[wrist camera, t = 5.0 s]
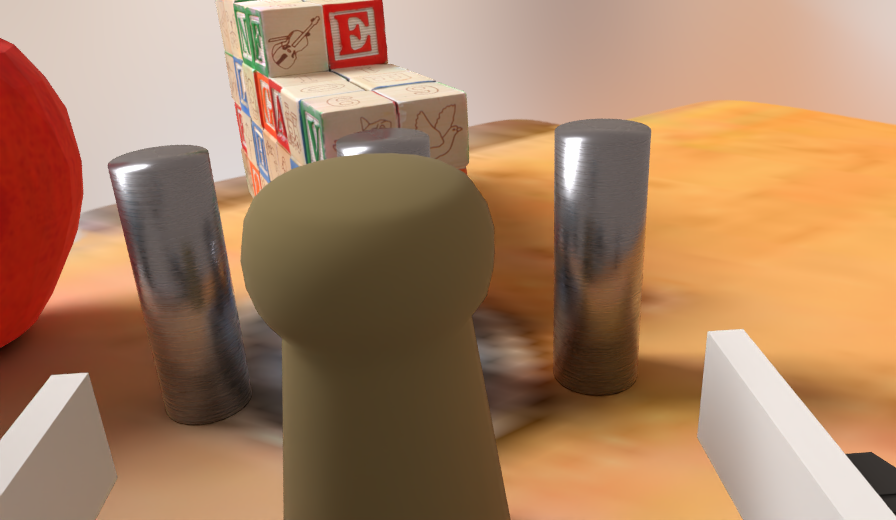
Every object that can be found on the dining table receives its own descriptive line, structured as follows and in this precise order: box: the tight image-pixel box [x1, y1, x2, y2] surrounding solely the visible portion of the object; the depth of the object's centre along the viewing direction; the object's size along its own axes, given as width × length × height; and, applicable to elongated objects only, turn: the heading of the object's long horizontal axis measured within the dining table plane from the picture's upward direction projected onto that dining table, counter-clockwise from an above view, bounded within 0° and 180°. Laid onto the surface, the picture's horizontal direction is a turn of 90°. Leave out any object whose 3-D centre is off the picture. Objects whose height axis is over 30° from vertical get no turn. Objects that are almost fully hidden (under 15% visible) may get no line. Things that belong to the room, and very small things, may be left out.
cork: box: [241, 153, 510, 520], centre depth 17 cm, size 6×6×11 cm
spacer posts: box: [108, 119, 651, 424], centre depth 20 cm, size 25×18×9 cm
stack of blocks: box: [215, 0, 469, 198], centre depth 40 cm, size 21×6×12 cm, turn 24°
